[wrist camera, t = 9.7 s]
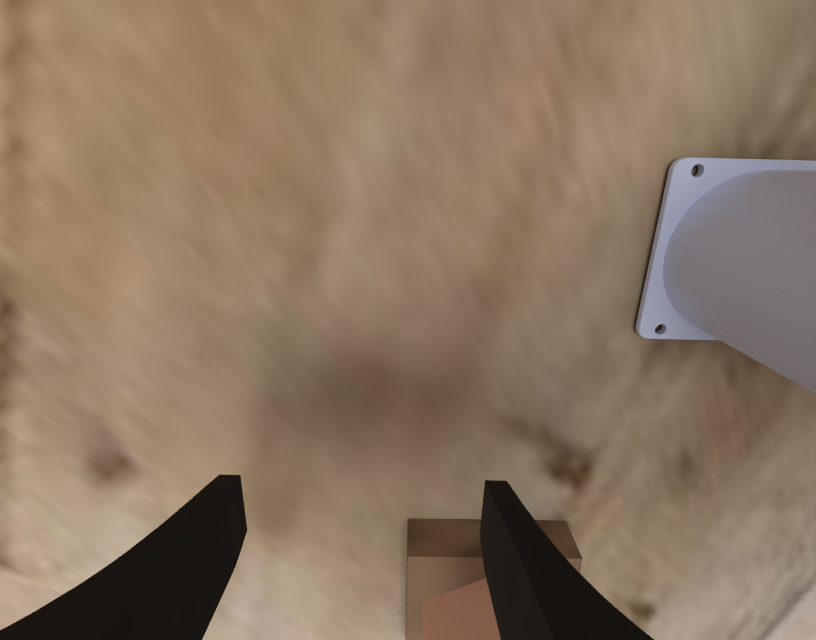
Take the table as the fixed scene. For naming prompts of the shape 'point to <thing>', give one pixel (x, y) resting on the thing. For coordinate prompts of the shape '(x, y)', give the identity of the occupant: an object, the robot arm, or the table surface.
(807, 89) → the table surface
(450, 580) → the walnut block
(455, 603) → the terracotta cube
